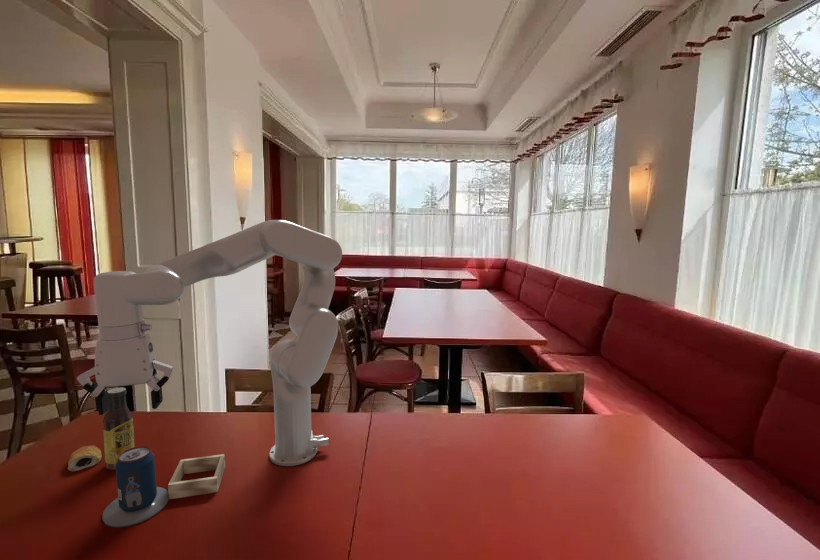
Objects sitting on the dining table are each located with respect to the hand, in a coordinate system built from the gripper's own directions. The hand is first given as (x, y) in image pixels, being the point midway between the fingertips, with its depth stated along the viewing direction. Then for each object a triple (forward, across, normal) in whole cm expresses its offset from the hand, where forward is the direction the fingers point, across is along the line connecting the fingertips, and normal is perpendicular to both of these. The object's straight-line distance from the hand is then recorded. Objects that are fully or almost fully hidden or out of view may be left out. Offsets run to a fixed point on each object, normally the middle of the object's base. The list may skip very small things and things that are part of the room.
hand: (131, 409), depth 84 cm
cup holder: (+23, -10, -6) cm, 26 cm away
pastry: (+23, +20, -22) cm, 38 cm away
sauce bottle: (+23, +11, -19) cm, 31 cm away
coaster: (+23, +1, 0) cm, 23 cm away
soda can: (+22, 0, 0) cm, 22 cm away
